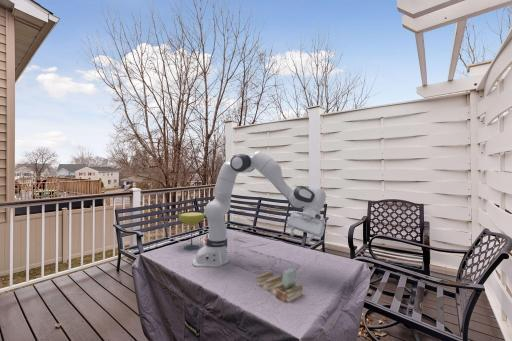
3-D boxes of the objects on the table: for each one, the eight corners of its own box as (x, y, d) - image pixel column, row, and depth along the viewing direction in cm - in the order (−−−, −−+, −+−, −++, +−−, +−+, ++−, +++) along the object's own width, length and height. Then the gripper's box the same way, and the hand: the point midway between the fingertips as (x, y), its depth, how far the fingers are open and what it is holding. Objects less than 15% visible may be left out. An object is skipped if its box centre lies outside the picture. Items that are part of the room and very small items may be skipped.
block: (282, 292, 117) (282, 271, 117) (290, 288, 121) (291, 267, 121) (287, 294, 115) (287, 273, 114) (295, 290, 119) (296, 269, 118)
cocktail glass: (176, 245, 187) (177, 212, 186) (201, 242, 194) (201, 210, 194) (180, 253, 170) (180, 216, 170) (206, 249, 178) (207, 214, 177)
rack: (255, 285, 126) (255, 276, 126) (270, 279, 134) (271, 270, 134) (286, 303, 110) (286, 293, 110) (302, 294, 118) (302, 285, 118)
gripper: (291, 207, 139) (280, 229, 133) (326, 218, 127) (315, 242, 121) (294, 213, 143) (284, 234, 138) (328, 223, 131) (318, 247, 125)
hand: (299, 238), depth 129 cm, fingers open, 8 cm apart
